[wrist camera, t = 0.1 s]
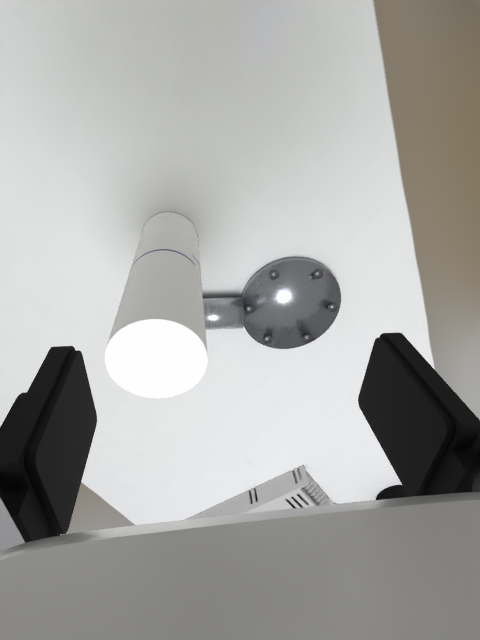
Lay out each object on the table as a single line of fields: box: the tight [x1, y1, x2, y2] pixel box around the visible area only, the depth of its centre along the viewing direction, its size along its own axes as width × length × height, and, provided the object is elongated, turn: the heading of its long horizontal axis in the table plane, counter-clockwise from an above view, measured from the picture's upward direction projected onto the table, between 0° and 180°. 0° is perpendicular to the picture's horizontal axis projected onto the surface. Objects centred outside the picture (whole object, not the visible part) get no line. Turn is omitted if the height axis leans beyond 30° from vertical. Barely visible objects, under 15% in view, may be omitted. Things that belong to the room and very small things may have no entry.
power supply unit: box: [185, 465, 336, 520], centre depth 82 cm, size 19×33×5 cm, turn 120°
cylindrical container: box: [105, 212, 208, 398], centre depth 36 cm, size 7×7×25 cm
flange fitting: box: [203, 257, 341, 349], centre depth 51 cm, size 23×15×6 cm, turn 88°
